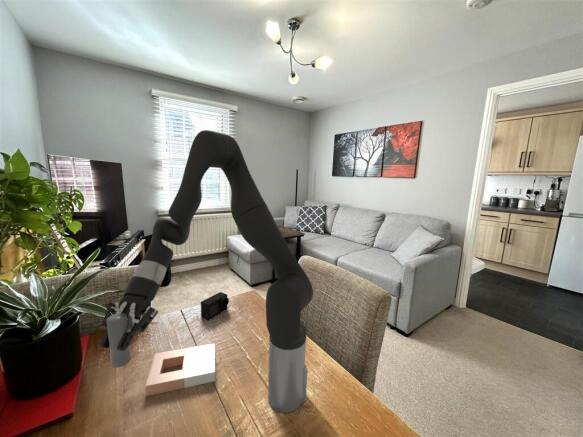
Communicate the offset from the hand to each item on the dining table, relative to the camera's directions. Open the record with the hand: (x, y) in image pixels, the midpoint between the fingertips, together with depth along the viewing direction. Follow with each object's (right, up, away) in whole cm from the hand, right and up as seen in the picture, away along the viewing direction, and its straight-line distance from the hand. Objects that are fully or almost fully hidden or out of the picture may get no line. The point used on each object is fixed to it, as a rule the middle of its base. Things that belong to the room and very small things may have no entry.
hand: (112, 348), depth 58 cm
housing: (+12, -13, +12) cm, 22 cm away
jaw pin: (0, -5, +3) cm, 5 cm away
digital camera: (+11, -9, +42) cm, 45 cm away
